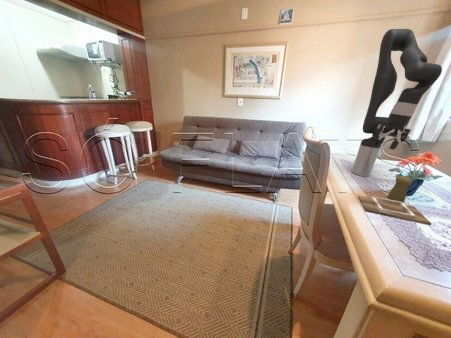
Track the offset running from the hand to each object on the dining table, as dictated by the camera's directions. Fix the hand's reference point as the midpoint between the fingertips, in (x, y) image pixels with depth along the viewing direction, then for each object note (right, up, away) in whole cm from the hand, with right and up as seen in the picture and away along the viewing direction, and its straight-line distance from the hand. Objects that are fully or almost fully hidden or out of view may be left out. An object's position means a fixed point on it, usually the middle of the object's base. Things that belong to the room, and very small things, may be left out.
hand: (383, 147), depth 89 cm
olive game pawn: (+1, -24, -6) cm, 25 cm away
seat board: (-9, -27, -14) cm, 32 cm away
